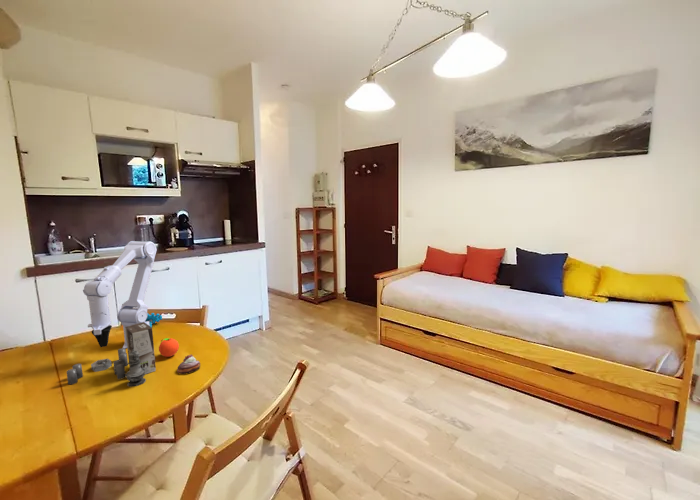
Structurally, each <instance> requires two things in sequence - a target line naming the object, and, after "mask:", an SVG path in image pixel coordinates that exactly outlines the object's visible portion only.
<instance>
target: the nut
mask: <svg viewBox="0 0 700 500" xmlns="http://www.w3.org/2000/svg"><path fill="white" fill-rule="evenodd" d="M112 364H113V362H112V360H111V359H109V358H104V359H98V360H96V361H94V362H93V363H91V364H90V368H91V370H92V371H93V372H95V373H97V372H101V371H106V370H107V369H109V368H111V367H112V366H113V365H112Z"/></svg>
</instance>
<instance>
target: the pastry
mask: <svg viewBox="0 0 700 500" xmlns="http://www.w3.org/2000/svg"><path fill="white" fill-rule="evenodd" d="M200 368H201V362H200V361H199V360H197V359H196V358H195V357H194V355H193V354H189V355H187V356H185V357H184V359H183V361H182V362H181V363H180V364H178V366H177V373H178V374H179V373H180V375H183V374H184V375H185V374H186V373H188V374H190V373H194V372H196V371H198V370H199V369H200Z"/></svg>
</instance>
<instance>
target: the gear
mask: <svg viewBox="0 0 700 500" xmlns="http://www.w3.org/2000/svg"><path fill="white" fill-rule="evenodd" d="M162 320H163V315H161V314H160V313H156V314H155V312H151V313H150V314H149V312H147V319H146V320H145V322H146V321H149V324H150V327H152V328H153V325H154V324H156V322H157V323H160V321H162Z"/></svg>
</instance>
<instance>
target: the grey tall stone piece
mask: <svg viewBox="0 0 700 500" xmlns="http://www.w3.org/2000/svg"><path fill="white" fill-rule="evenodd" d="M140 362H141V360H140V359H139V353H138V351H134V349H132V352H130V353H129V357H128V365H129V371H127V372H125V376H126V377H125V378H126V379H127V381H128V382H127V385H126V386H127V387H129V388H135V387H138V386H141V385H143V384H145V383H146V381H147V379H146V378H145V375H146V374H145V372H146V369H144V368H141V367H140Z"/></svg>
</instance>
